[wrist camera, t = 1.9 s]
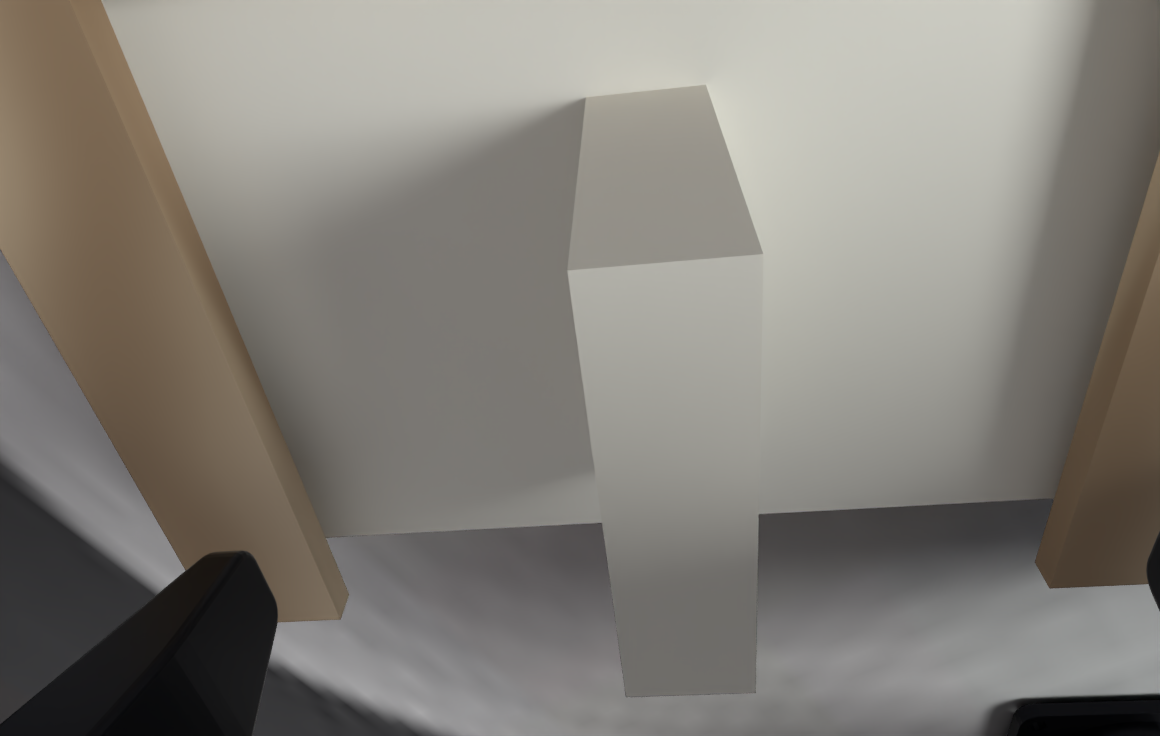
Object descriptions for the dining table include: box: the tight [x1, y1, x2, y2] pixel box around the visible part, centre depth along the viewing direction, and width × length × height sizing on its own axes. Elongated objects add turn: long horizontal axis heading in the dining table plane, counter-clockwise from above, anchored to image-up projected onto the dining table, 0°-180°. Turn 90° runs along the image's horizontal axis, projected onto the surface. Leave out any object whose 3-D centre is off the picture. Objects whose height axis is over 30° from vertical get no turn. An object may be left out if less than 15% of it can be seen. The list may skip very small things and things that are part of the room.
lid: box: [101, 0, 1160, 697], centre depth 11 cm, size 15×10×6 cm, turn 97°
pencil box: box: [0, 0, 1160, 622], centre depth 13 cm, size 18×12×5 cm, turn 97°
